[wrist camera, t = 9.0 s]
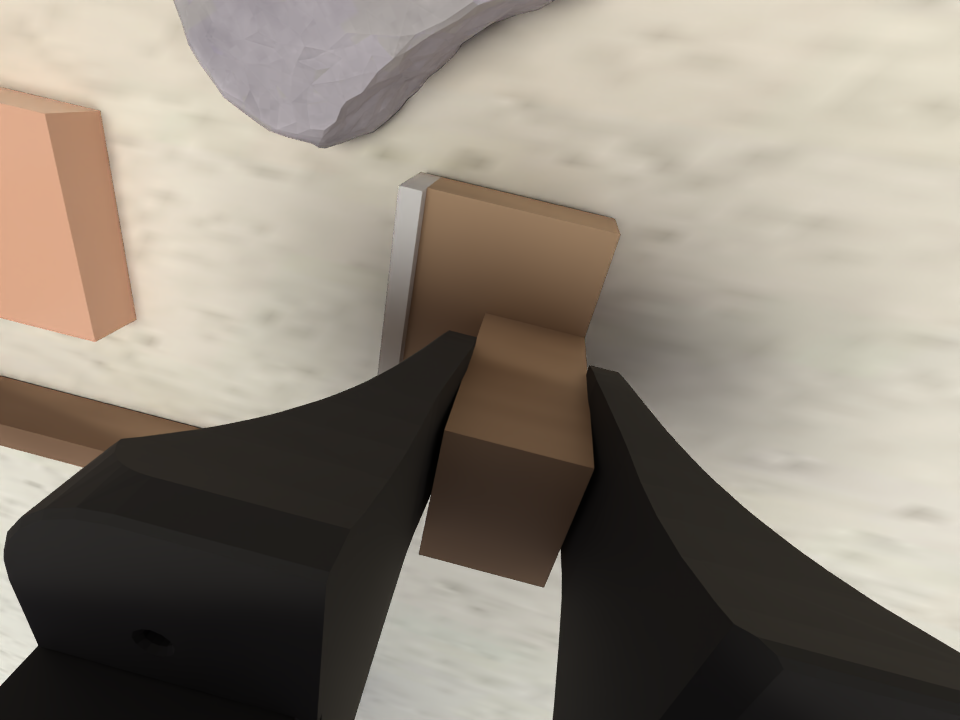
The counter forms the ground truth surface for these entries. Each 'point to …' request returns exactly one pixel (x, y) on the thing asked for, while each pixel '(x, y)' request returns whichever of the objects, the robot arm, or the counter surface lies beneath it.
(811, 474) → the counter surface
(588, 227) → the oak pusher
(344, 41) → the stone block
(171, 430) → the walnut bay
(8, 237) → the terracotta tile
